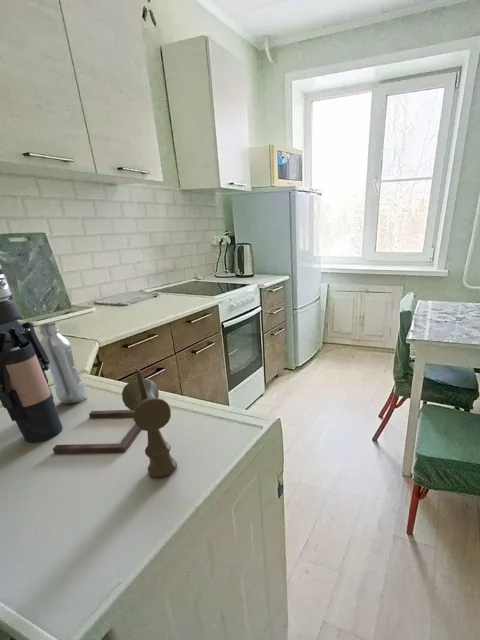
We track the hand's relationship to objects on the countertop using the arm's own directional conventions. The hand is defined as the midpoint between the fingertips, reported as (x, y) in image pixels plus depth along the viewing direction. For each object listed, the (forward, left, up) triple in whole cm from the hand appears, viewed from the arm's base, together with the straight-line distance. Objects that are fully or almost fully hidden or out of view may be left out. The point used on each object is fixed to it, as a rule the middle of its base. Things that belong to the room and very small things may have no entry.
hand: (34, 409), depth 74 cm
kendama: (+31, -13, -6) cm, 34 cm away
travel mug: (0, 0, -6) cm, 6 cm away
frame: (+14, 0, -6) cm, 15 cm away
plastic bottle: (-2, +15, -6) cm, 16 cm away
